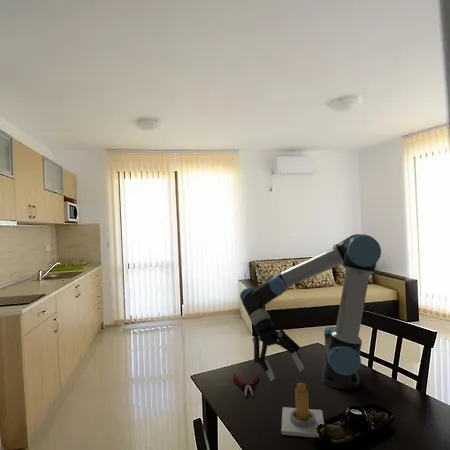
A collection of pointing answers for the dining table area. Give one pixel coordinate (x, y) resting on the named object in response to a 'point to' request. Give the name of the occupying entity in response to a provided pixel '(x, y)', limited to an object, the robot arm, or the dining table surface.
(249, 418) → the dining table surface
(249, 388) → the pliers
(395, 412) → the dining table surface
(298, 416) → the orange peg
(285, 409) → the plate
